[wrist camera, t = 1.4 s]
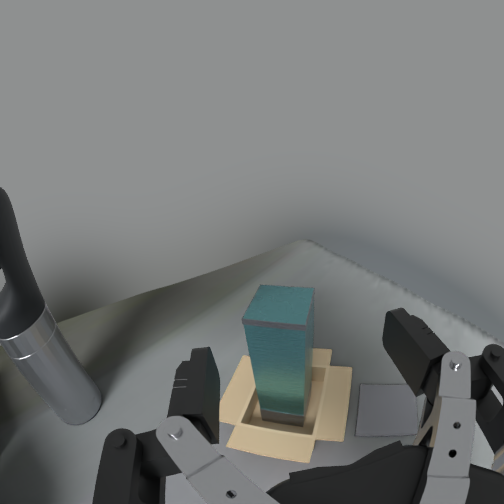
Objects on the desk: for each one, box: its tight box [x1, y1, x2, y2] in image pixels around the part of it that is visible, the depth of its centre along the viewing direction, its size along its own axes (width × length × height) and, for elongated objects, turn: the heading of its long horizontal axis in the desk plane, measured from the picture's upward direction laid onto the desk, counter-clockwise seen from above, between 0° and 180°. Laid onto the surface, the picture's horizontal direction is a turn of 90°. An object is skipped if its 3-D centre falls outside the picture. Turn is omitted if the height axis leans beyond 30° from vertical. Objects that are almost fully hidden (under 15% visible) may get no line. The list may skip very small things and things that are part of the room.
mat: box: [355, 384, 418, 436], centre depth 26 cm, size 8×8×1 cm
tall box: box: [242, 285, 315, 427], centre depth 26 cm, size 5×5×17 cm
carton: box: [219, 348, 352, 463], centre depth 29 cm, size 15×17×4 cm
